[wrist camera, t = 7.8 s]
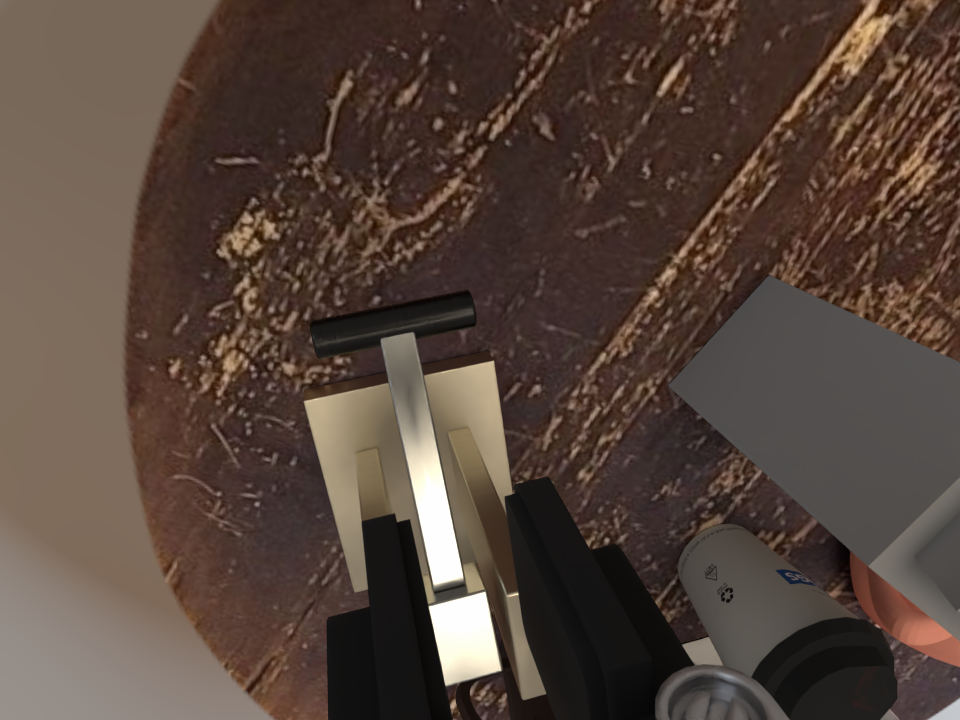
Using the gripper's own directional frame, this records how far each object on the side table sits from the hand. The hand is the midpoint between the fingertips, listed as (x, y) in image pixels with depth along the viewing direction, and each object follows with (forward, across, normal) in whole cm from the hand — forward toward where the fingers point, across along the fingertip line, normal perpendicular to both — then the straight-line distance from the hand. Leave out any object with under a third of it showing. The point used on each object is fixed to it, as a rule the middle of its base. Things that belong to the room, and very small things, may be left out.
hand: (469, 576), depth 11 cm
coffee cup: (+19, -15, +19) cm, 31 cm away
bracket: (+19, 0, +9) cm, 21 cm away
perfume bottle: (+19, -17, +8) cm, 27 cm away
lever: (+12, 0, +5) cm, 13 cm away
